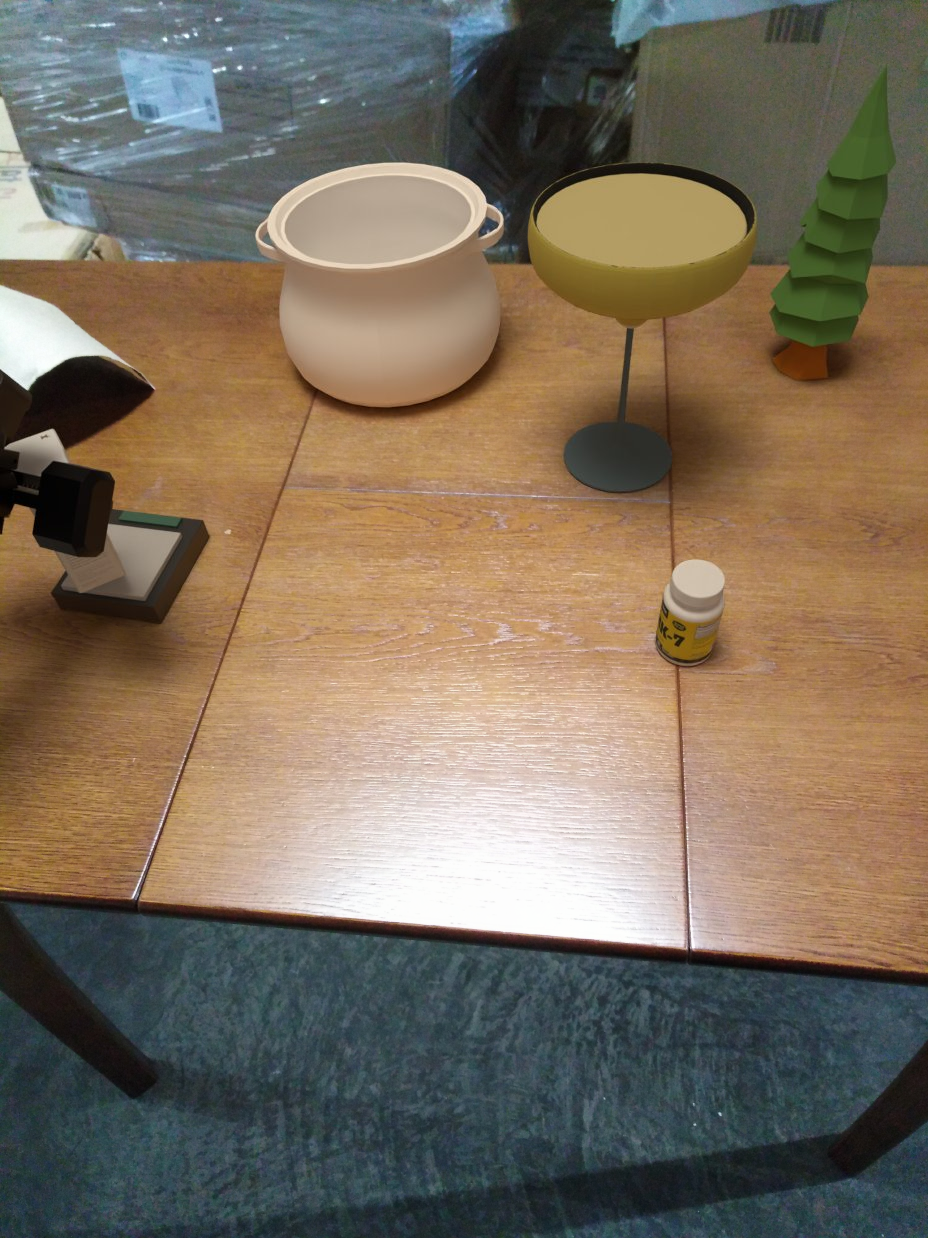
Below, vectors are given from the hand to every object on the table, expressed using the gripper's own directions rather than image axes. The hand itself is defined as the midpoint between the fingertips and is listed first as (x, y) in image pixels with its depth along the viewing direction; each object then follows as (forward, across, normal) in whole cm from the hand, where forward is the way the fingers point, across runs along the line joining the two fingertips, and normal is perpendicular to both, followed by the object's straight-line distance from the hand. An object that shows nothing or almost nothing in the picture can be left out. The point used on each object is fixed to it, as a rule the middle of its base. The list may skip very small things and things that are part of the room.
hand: (74, 497), depth 73 cm
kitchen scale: (+10, 0, +6) cm, 12 cm away
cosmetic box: (+4, 0, +6) cm, 7 cm away
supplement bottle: (+15, -49, +2) cm, 52 cm away
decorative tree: (+45, -54, -29) cm, 76 cm away
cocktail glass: (+30, -38, -14) cm, 51 cm away
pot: (+37, -10, -21) cm, 44 cm away
